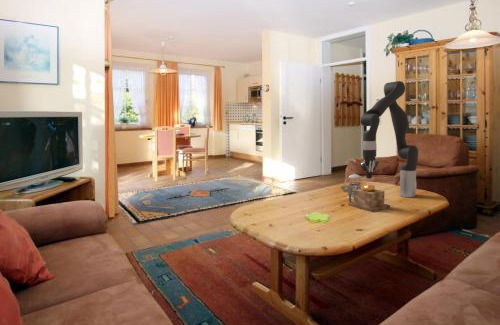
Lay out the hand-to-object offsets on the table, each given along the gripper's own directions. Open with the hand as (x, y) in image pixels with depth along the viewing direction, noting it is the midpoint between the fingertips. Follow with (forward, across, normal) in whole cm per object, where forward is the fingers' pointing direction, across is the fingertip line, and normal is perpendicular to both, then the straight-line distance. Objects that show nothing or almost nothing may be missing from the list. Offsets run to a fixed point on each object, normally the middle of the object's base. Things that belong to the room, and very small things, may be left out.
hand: (369, 178), depth 203 cm
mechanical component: (+17, 0, -15) cm, 23 cm away
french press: (+17, -10, -22) cm, 29 cm away
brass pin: (+15, 0, 0) cm, 15 cm away
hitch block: (+17, 0, 0) cm, 17 cm away
